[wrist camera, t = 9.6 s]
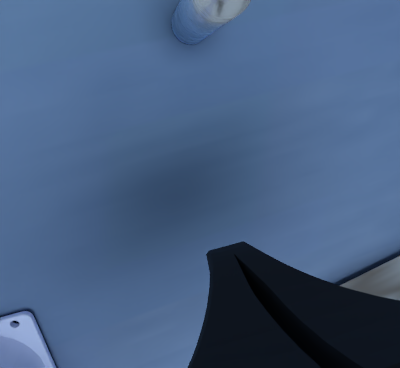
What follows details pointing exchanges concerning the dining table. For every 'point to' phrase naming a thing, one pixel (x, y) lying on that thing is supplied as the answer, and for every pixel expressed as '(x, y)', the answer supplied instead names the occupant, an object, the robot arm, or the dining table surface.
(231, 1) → the latch post
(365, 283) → the gate
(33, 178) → the dining table surface
